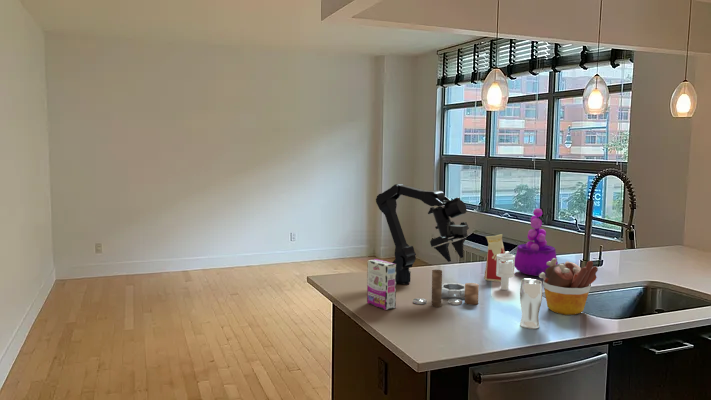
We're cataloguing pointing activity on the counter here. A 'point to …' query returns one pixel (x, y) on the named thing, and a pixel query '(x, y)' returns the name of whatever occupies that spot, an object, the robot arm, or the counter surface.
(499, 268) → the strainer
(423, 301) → the disc
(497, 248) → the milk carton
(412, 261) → the robot arm
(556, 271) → the bucket of meat
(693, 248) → the counter surface
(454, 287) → the octagonal socket plate
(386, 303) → the candy bar box
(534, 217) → the decorative plant
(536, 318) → the beer glass
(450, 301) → the disc
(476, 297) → the cherry stub
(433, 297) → the walnut peg
